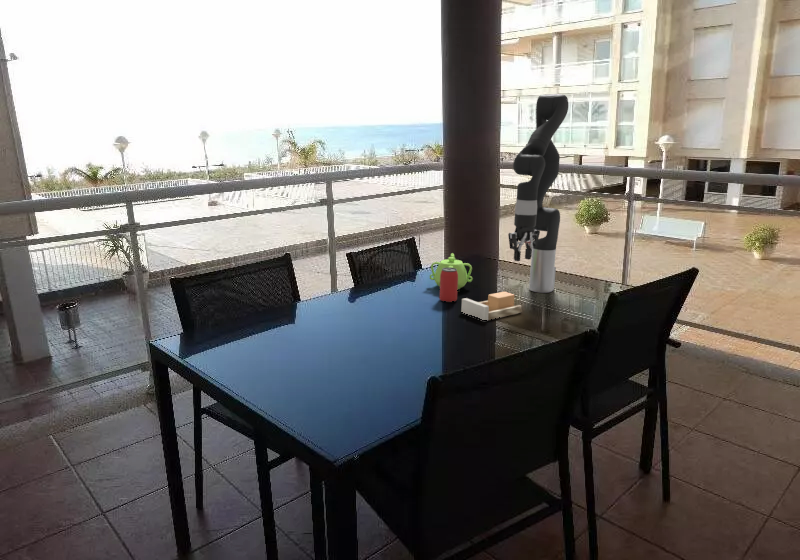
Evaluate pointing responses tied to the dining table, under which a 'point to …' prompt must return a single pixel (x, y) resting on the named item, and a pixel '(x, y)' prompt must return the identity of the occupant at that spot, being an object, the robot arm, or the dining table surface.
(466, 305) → the stop block
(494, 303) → the block
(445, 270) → the beer can
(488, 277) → the dining table surface
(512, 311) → the guide lane
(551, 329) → the dining table surface
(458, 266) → the green sugar bowl
